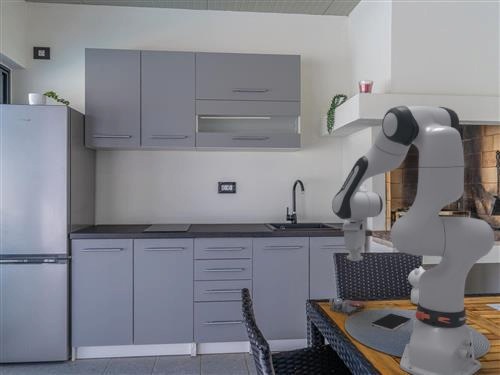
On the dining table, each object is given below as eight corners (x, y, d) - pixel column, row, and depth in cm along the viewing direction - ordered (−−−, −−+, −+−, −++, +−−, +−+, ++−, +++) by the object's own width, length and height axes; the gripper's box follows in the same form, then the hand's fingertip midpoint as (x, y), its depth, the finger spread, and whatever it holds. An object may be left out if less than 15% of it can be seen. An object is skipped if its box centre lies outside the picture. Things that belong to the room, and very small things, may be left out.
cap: (347, 260, 143) (347, 249, 143) (346, 258, 149) (346, 247, 149) (363, 261, 142) (363, 249, 142) (362, 259, 147) (362, 247, 147)
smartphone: (412, 318, 129) (393, 329, 119) (412, 322, 129) (393, 333, 119) (390, 313, 135) (370, 322, 125) (390, 316, 135) (370, 326, 125)
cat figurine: (412, 299, 154) (411, 264, 154) (445, 305, 146) (444, 267, 146) (405, 304, 147) (404, 267, 148) (438, 311, 139) (437, 271, 139)
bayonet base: (351, 315, 135) (351, 304, 135) (326, 309, 142) (326, 299, 142) (367, 306, 145) (367, 296, 145) (343, 301, 152) (343, 291, 152)
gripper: (353, 221, 156) (354, 254, 156) (341, 226, 138) (341, 262, 138) (369, 222, 153) (369, 255, 153) (358, 226, 135) (358, 264, 135)
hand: (356, 258), depth 145 cm, fingers closed on cap, 4 cm apart
